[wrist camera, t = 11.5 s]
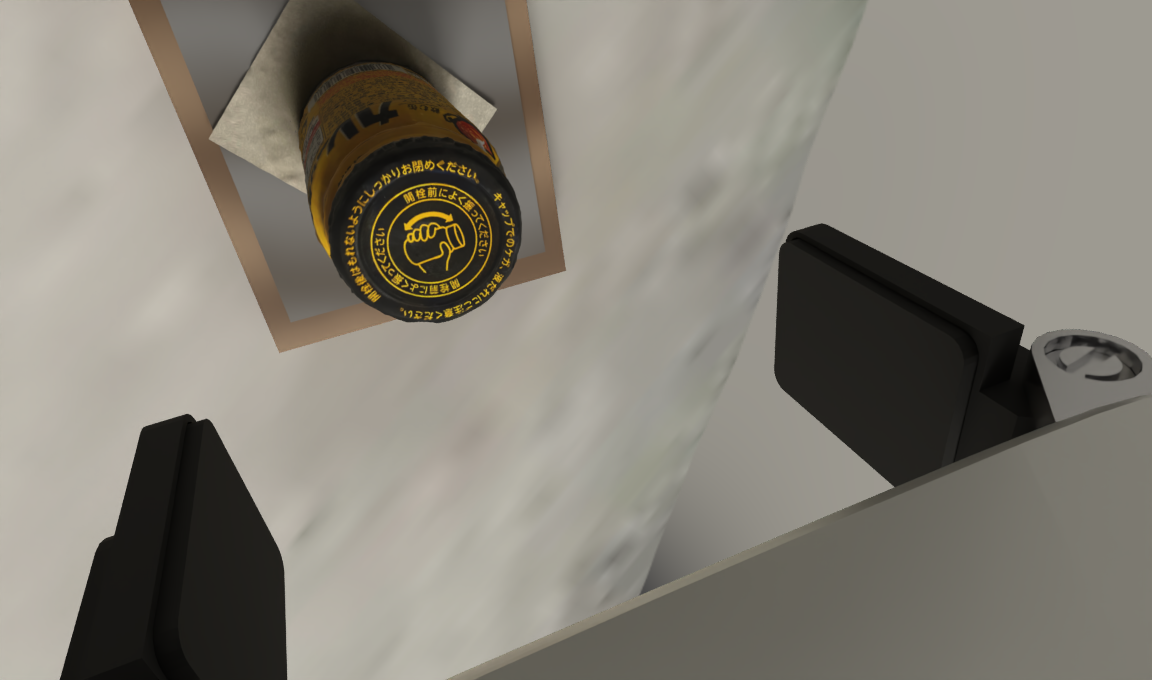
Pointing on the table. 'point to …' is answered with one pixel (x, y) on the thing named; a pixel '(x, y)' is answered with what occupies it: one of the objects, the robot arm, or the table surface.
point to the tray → (259, 199)
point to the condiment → (380, 160)
